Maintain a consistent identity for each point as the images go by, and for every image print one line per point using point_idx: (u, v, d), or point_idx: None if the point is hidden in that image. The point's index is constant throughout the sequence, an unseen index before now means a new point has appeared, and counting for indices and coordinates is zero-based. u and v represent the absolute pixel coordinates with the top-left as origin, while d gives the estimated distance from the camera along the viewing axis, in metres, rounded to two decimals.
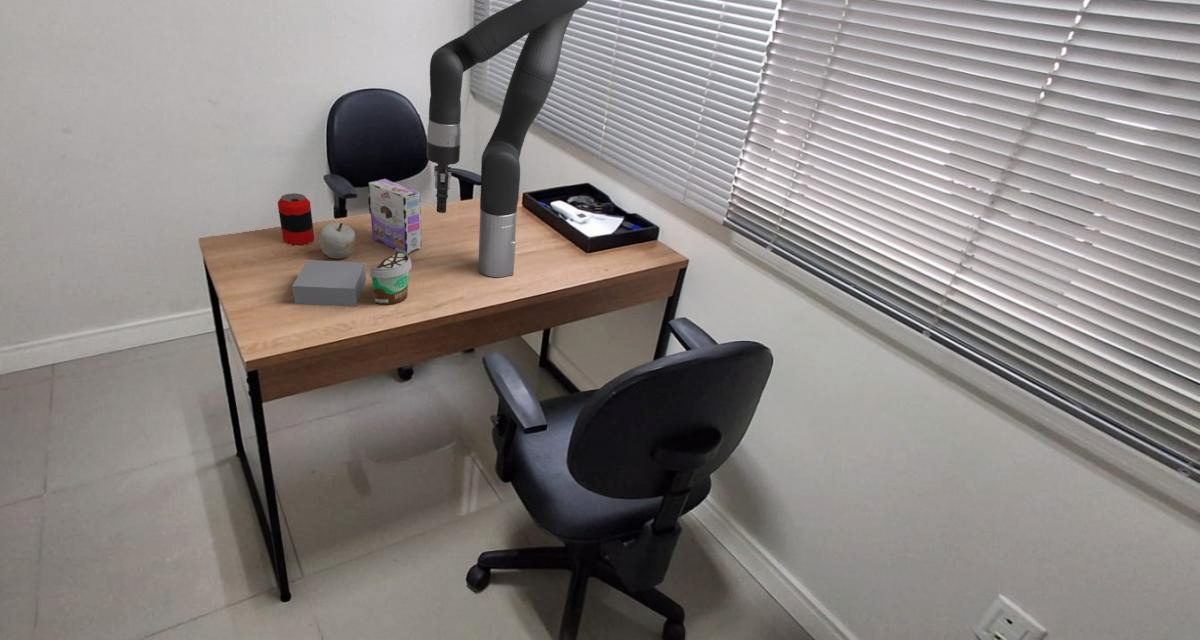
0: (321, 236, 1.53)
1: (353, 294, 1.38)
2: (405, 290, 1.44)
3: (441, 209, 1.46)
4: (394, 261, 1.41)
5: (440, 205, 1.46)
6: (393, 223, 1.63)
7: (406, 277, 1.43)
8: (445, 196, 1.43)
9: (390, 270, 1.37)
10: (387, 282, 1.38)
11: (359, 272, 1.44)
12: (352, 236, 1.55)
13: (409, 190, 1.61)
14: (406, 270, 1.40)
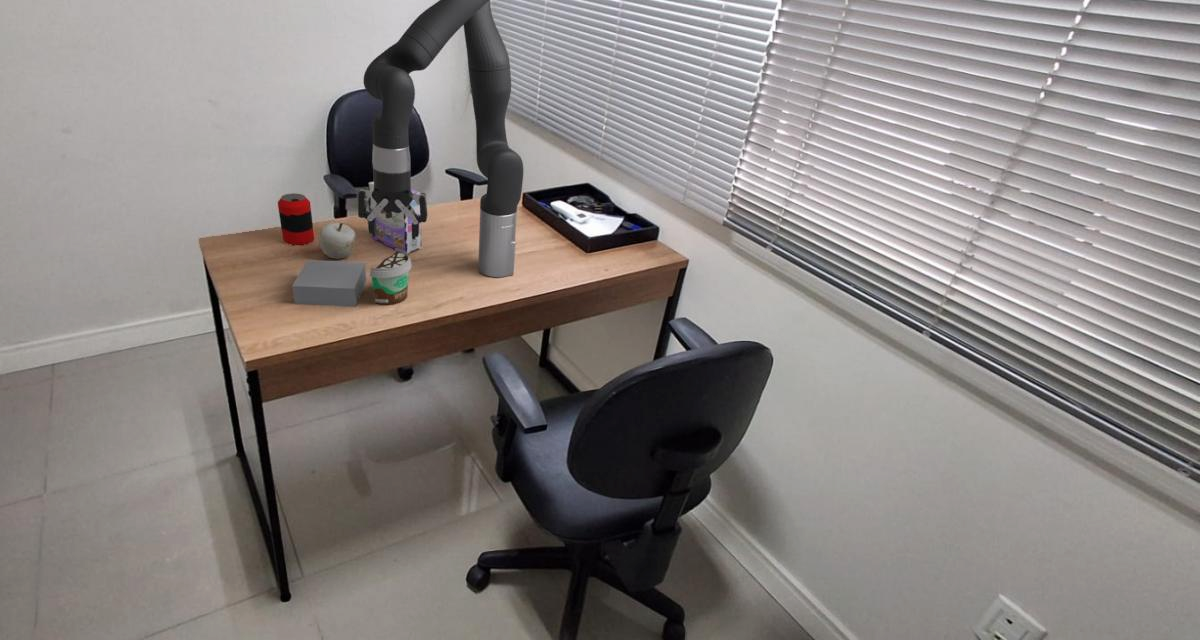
0: (321, 236, 1.53)
1: (353, 294, 1.38)
2: (405, 290, 1.44)
3: None
4: (394, 261, 1.41)
5: None
6: (393, 223, 1.63)
7: (406, 277, 1.43)
8: None
9: (390, 270, 1.37)
10: (387, 282, 1.38)
11: (359, 272, 1.44)
12: (352, 236, 1.55)
13: None
14: (406, 270, 1.40)
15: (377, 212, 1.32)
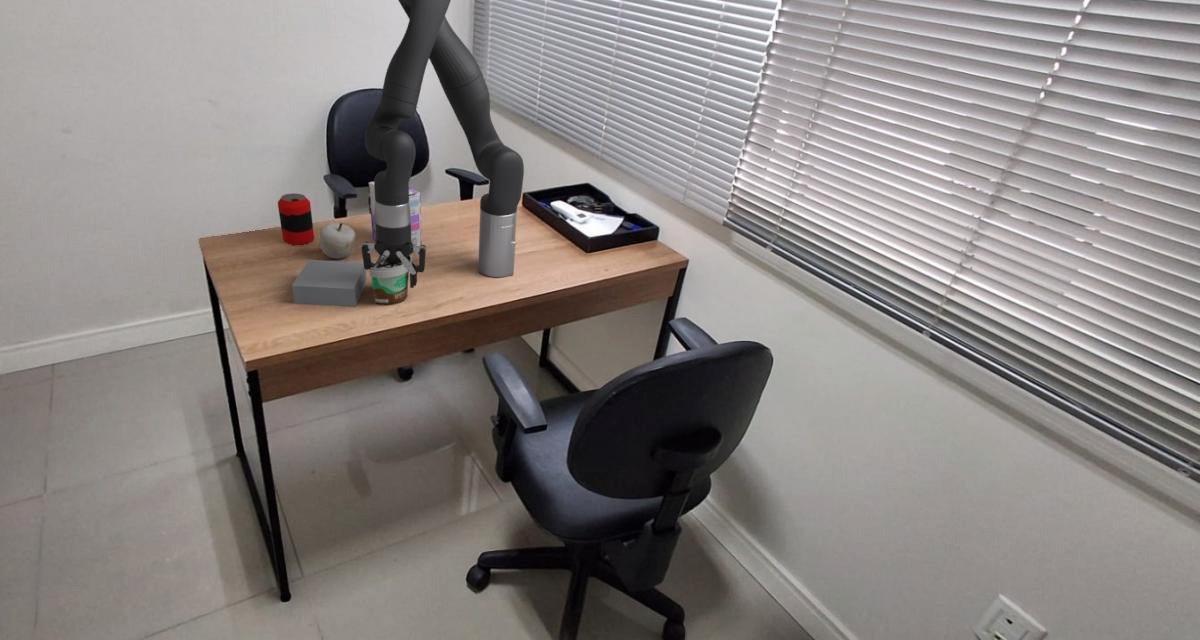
0: (321, 236, 1.53)
1: (352, 294, 1.38)
2: (405, 290, 1.44)
3: None
4: None
5: (416, 279, 1.43)
6: None
7: (406, 277, 1.43)
8: (424, 266, 1.43)
9: (390, 270, 1.37)
10: (387, 282, 1.38)
11: (359, 272, 1.44)
12: (352, 236, 1.55)
13: (409, 190, 1.61)
14: (406, 270, 1.40)
15: (381, 263, 1.38)
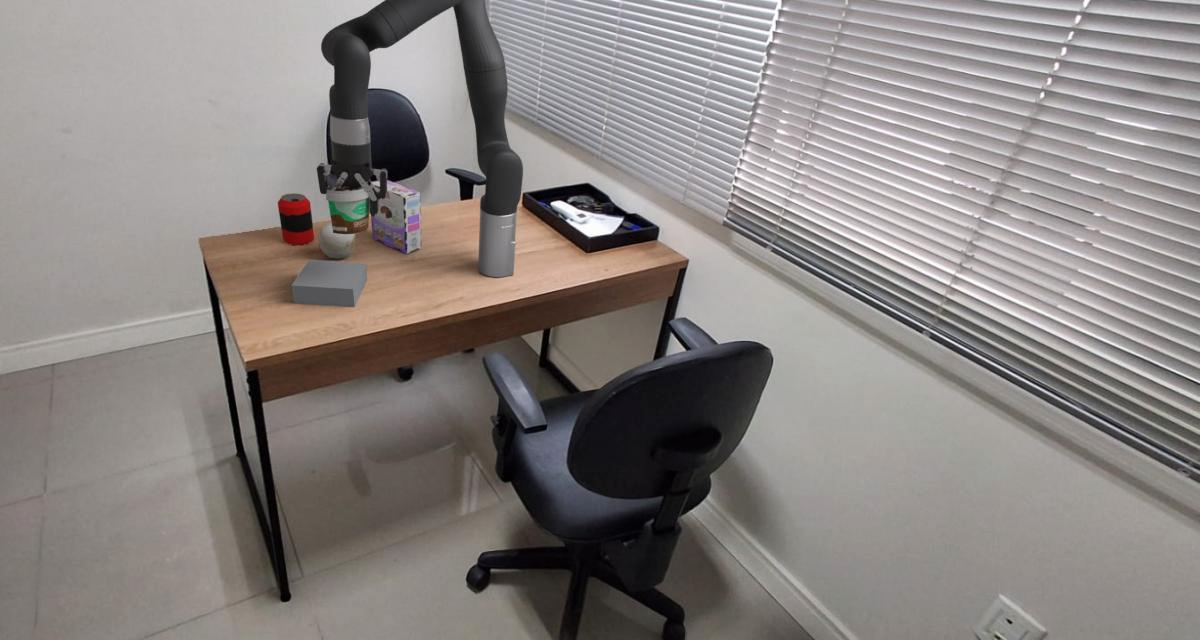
0: (321, 236, 1.53)
1: (351, 295, 1.38)
2: (366, 219, 1.34)
3: (377, 210, 1.34)
4: (354, 187, 1.31)
5: (377, 206, 1.34)
6: (393, 223, 1.63)
7: (367, 205, 1.33)
8: (386, 192, 1.33)
9: (348, 193, 1.27)
10: (346, 207, 1.29)
11: (359, 273, 1.44)
12: (352, 236, 1.55)
13: (409, 190, 1.61)
14: (366, 195, 1.30)
15: (338, 187, 1.29)
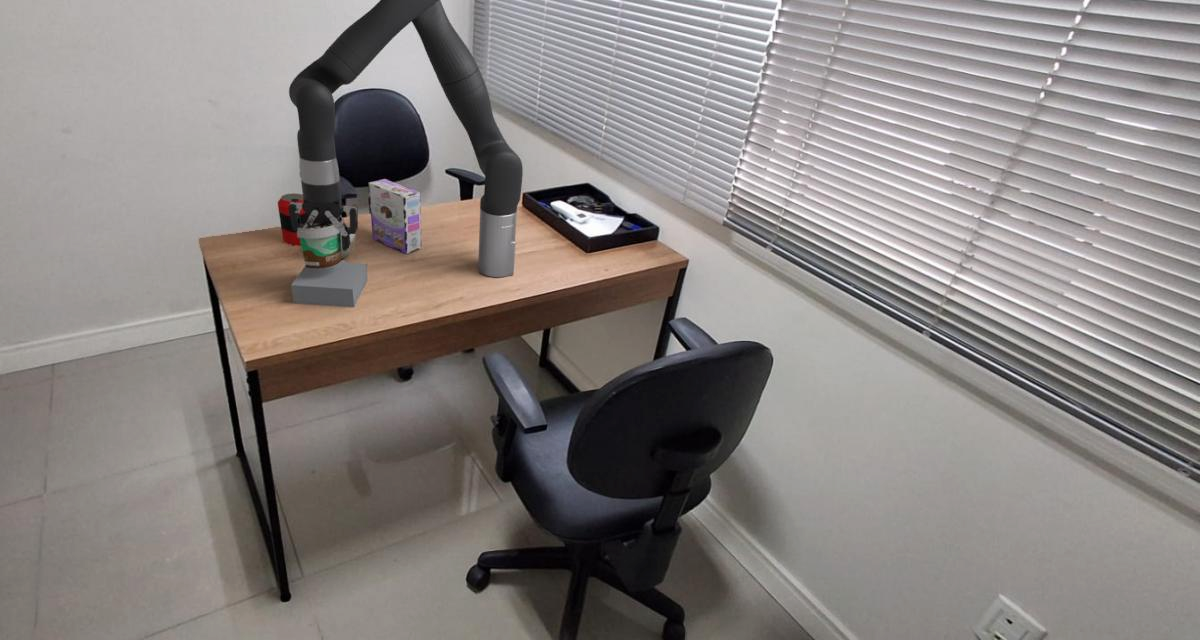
0: None
1: (351, 295, 1.38)
2: (338, 253, 1.39)
3: (349, 245, 1.39)
4: (325, 223, 1.36)
5: (349, 241, 1.38)
6: (393, 223, 1.63)
7: (338, 240, 1.38)
8: (357, 227, 1.38)
9: (318, 230, 1.32)
10: (317, 243, 1.33)
11: (359, 273, 1.44)
12: (352, 236, 1.55)
13: (409, 190, 1.61)
14: (337, 231, 1.35)
15: (310, 224, 1.33)
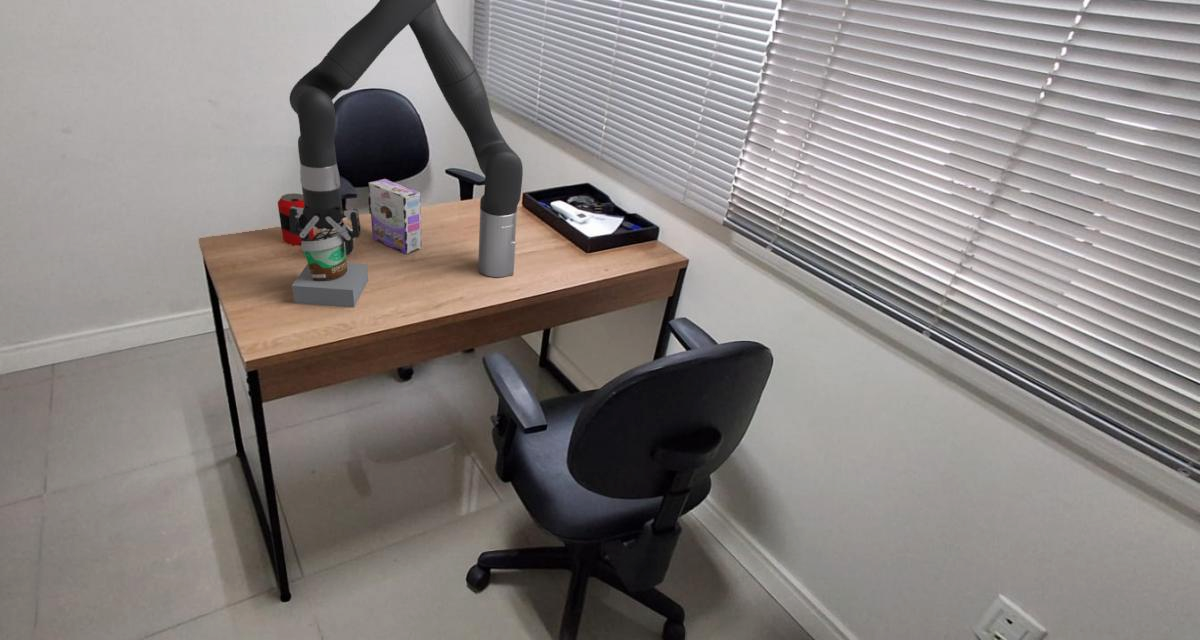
0: None
1: (351, 295, 1.38)
2: (343, 264, 1.40)
3: (352, 249, 1.39)
4: (328, 235, 1.38)
5: (352, 245, 1.39)
6: (393, 223, 1.63)
7: (342, 250, 1.39)
8: (360, 231, 1.38)
9: (322, 242, 1.34)
10: (321, 255, 1.35)
11: (360, 273, 1.44)
12: None
13: (409, 190, 1.61)
14: (340, 242, 1.37)
15: (309, 229, 1.34)
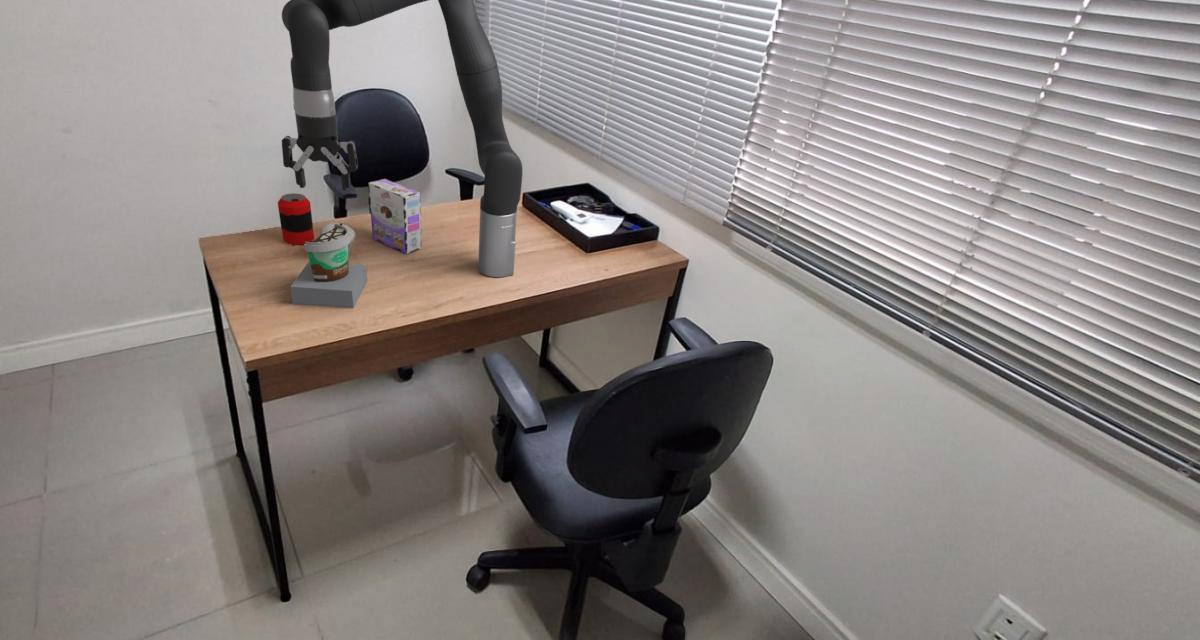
0: None
1: (350, 296, 1.38)
2: (345, 266, 1.40)
3: None
4: (332, 236, 1.38)
5: (349, 180, 1.31)
6: (393, 223, 1.63)
7: (345, 252, 1.39)
8: (357, 165, 1.31)
9: (326, 244, 1.33)
10: (324, 257, 1.35)
11: (359, 274, 1.43)
12: (352, 236, 1.55)
13: (409, 190, 1.61)
14: (344, 244, 1.37)
15: (303, 161, 1.27)
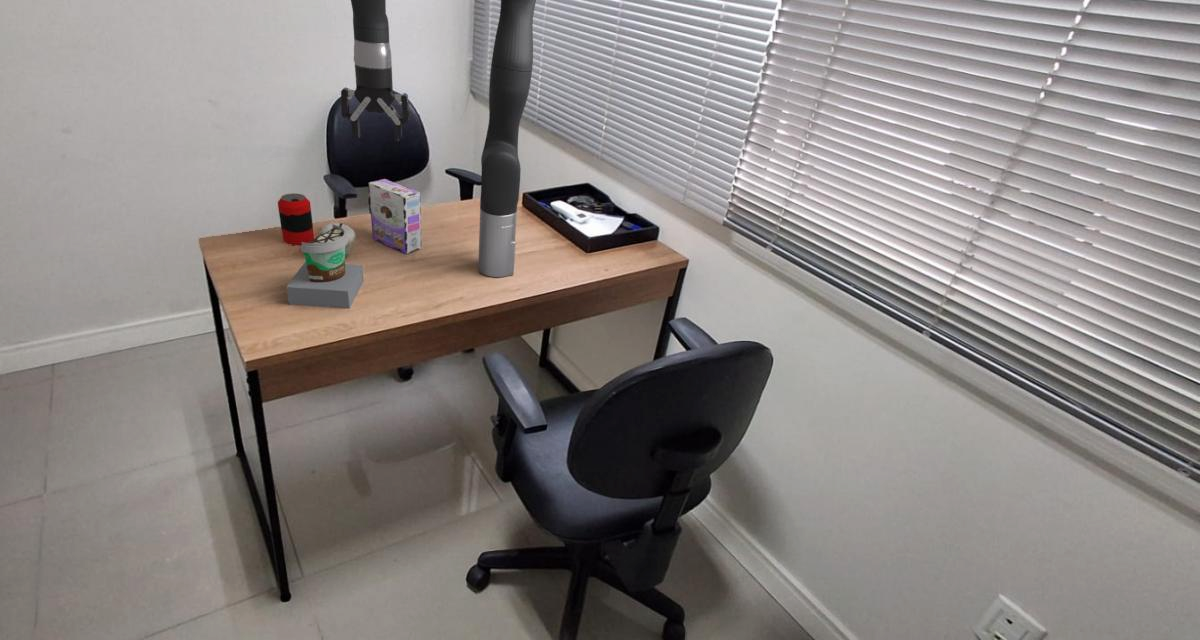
0: None
1: (346, 297, 1.37)
2: (341, 267, 1.40)
3: None
4: (329, 237, 1.38)
5: (401, 131, 1.40)
6: (393, 223, 1.63)
7: (342, 254, 1.39)
8: (409, 117, 1.39)
9: (322, 245, 1.33)
10: (320, 258, 1.35)
11: (355, 274, 1.43)
12: (352, 236, 1.55)
13: (409, 190, 1.61)
14: (340, 246, 1.36)
15: (360, 111, 1.35)
